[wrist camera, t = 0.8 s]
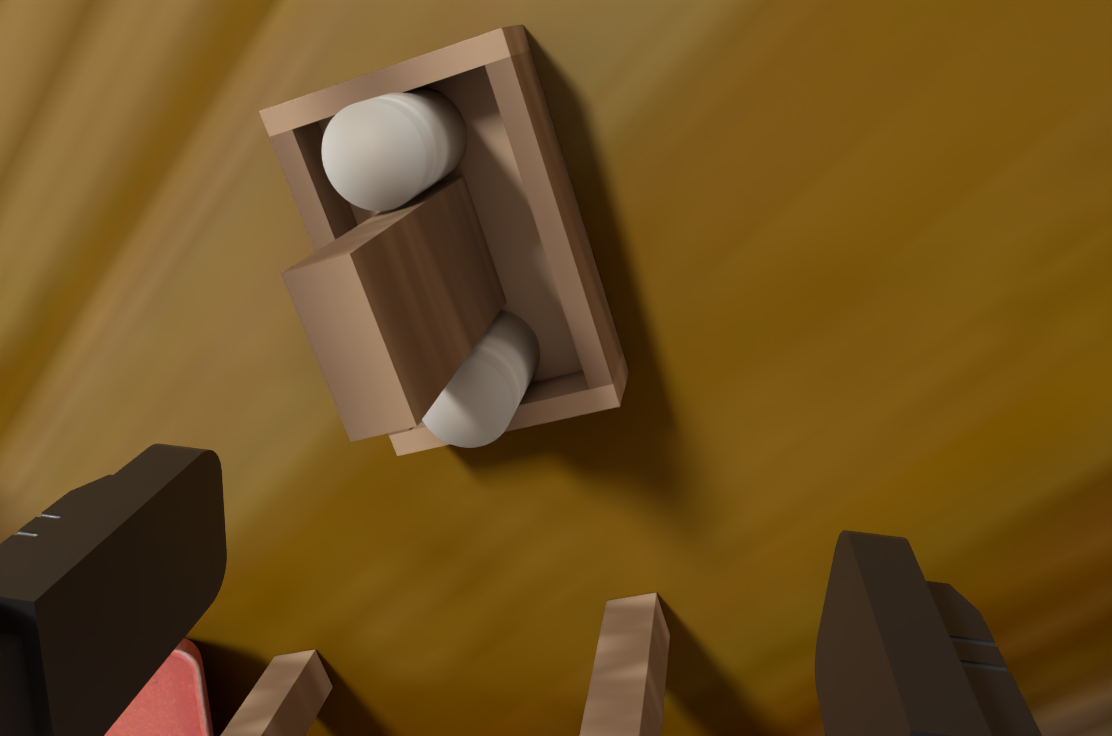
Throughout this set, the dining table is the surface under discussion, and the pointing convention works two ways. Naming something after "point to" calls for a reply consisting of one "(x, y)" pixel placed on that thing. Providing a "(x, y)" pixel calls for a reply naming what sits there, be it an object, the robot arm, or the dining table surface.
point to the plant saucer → (170, 700)
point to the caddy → (445, 250)
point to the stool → (611, 708)
